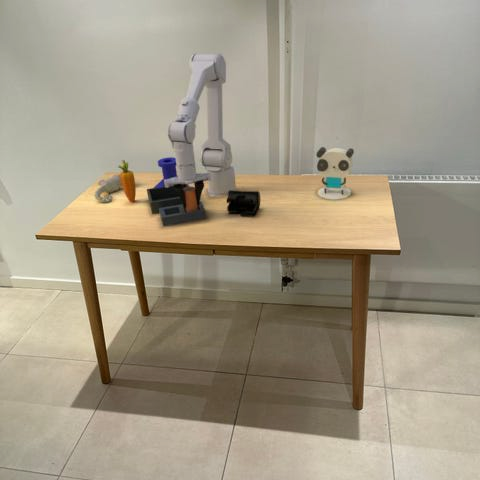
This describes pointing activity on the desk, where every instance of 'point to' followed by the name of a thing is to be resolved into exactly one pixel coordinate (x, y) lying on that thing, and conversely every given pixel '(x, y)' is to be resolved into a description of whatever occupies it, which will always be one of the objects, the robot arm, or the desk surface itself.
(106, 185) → the seahorse
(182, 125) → the robot arm
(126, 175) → the carrot
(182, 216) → the rack
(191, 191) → the tube
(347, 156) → the panda figurine
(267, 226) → the desk surface
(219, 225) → the desk surface
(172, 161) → the mount
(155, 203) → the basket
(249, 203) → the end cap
